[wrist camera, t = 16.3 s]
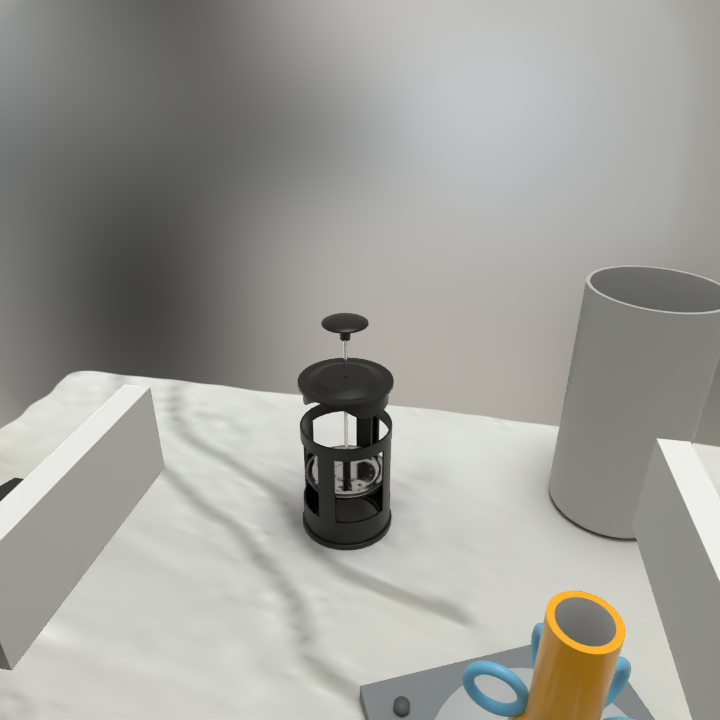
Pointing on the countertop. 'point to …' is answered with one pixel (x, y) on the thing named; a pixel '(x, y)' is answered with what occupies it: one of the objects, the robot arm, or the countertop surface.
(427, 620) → the countertop surface
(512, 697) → the grey plate with disc
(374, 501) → the french press
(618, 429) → the cylinder vase
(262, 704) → the countertop surface
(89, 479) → the robot arm
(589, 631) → the orange ringed tube
